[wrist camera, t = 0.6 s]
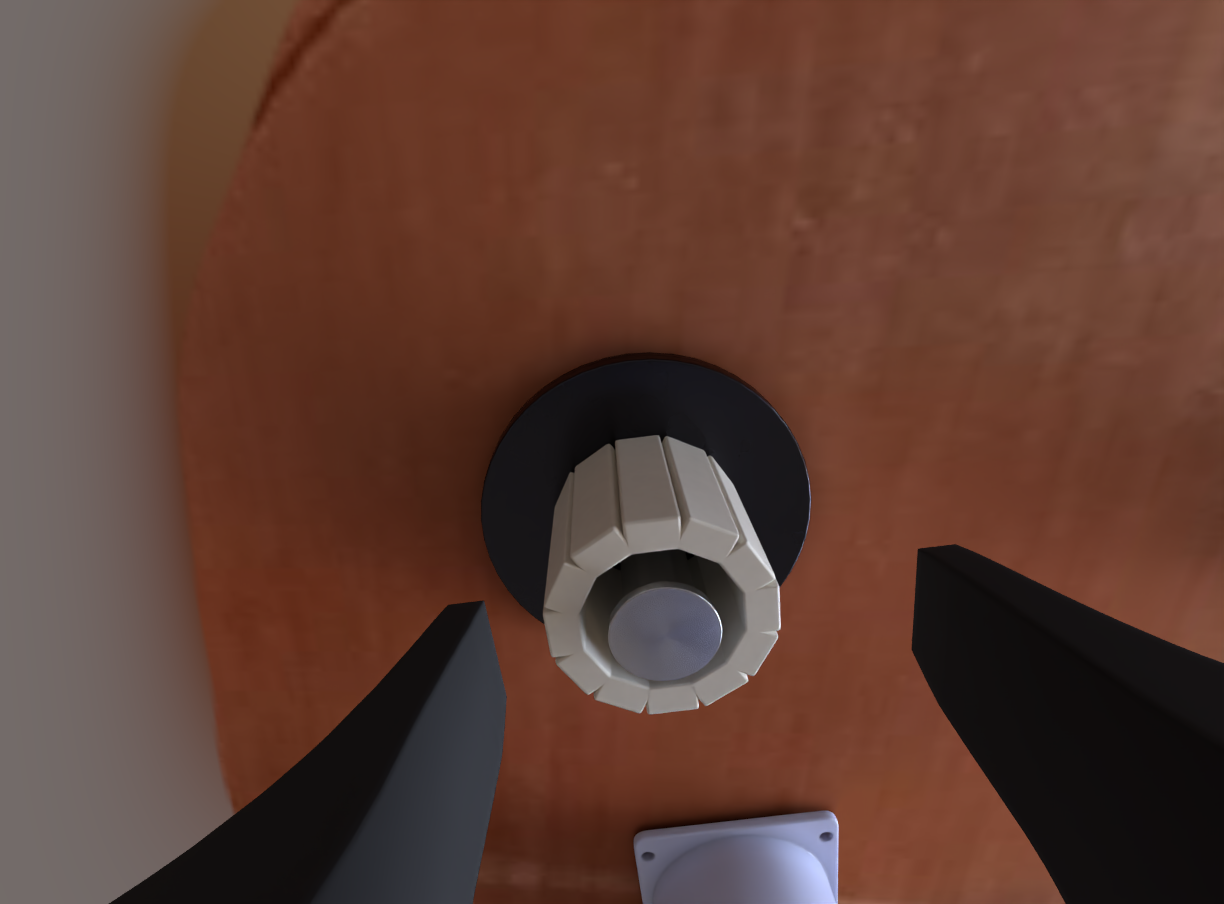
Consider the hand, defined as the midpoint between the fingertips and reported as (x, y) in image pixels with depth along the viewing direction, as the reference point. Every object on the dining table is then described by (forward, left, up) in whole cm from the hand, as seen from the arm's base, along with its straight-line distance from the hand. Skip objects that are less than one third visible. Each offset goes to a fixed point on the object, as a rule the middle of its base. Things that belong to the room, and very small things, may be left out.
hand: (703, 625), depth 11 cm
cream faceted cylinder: (-3, +1, -9) cm, 9 cm away
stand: (-3, +1, -10) cm, 10 cm away
